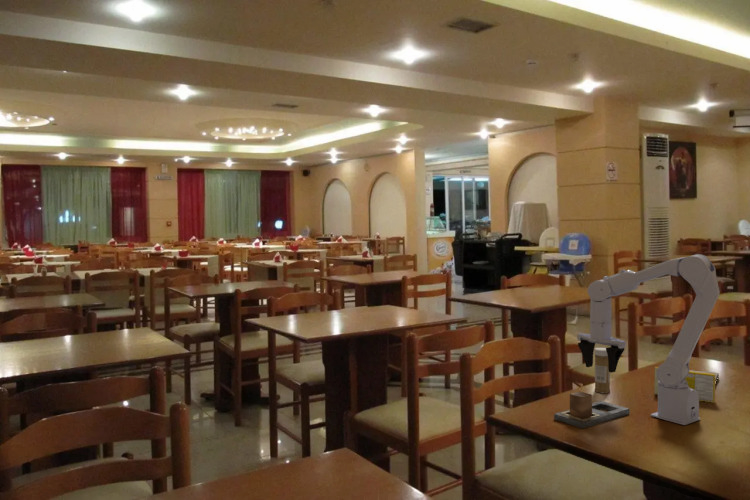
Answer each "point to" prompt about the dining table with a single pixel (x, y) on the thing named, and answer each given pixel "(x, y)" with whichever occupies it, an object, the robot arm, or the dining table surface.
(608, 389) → the sprinkles bottle
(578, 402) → the square peg block
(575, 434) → the dining table surface
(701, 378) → the candy box
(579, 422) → the grey peg holder tray
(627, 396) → the dining table surface
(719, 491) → the dining table surface
